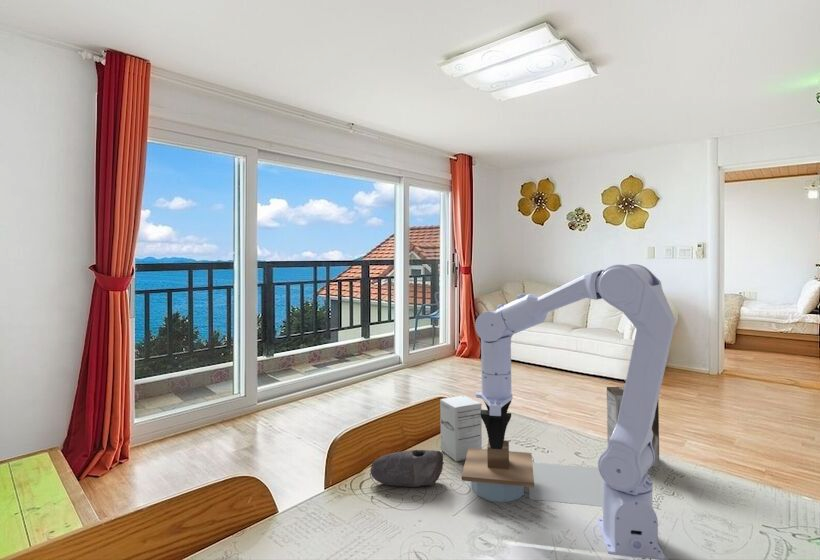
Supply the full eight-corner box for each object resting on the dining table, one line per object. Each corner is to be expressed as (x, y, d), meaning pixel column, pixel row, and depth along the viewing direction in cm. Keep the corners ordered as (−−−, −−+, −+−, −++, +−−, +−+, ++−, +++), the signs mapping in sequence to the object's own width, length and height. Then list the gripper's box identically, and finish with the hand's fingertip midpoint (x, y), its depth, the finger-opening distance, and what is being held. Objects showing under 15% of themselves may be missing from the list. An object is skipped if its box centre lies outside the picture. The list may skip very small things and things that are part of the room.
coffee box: (647, 455, 102) (647, 386, 101) (660, 468, 95) (660, 394, 95) (606, 454, 103) (605, 385, 102) (616, 467, 96) (616, 393, 96)
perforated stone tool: (368, 490, 88) (367, 455, 88) (373, 477, 94) (372, 445, 93) (443, 492, 87) (443, 457, 87) (444, 479, 92) (443, 446, 92)
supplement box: (439, 450, 107) (439, 398, 106) (466, 444, 110) (465, 394, 109) (455, 462, 100) (454, 407, 100) (483, 456, 103) (482, 402, 103)
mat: (622, 510, 79) (621, 508, 79) (529, 501, 83) (529, 498, 83) (604, 470, 95) (604, 468, 95) (526, 464, 98) (526, 461, 98)
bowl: (524, 506, 81) (524, 482, 81) (469, 501, 83) (469, 477, 83) (523, 480, 91) (522, 459, 91) (474, 476, 93) (473, 455, 93)
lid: (534, 487, 79) (534, 460, 79) (461, 480, 82) (461, 455, 82) (531, 456, 92) (531, 433, 92) (468, 451, 95) (468, 429, 95)
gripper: (478, 363, 94) (479, 426, 95) (472, 380, 80) (473, 454, 81) (512, 364, 93) (513, 428, 93) (512, 381, 79) (513, 457, 79)
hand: (497, 440), depth 87 cm, fingers open, 7 cm apart
